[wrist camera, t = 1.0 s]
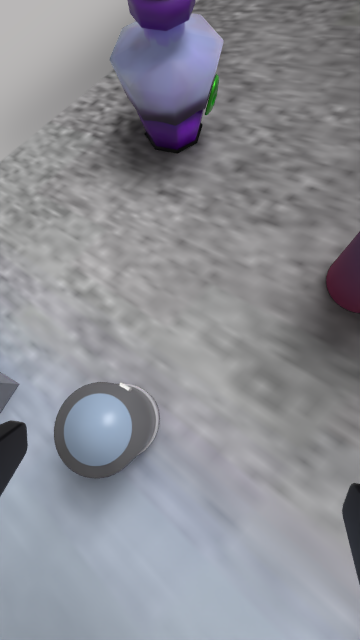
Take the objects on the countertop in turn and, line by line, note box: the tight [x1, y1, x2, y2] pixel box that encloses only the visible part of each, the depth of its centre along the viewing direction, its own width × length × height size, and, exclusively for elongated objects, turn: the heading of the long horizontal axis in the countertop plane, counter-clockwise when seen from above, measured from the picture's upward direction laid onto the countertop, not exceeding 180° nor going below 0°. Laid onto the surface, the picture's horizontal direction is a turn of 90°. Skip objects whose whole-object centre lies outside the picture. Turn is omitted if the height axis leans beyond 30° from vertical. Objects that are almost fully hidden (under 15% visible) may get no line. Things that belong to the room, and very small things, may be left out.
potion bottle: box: [110, 0, 224, 153], centre depth 23 cm, size 9×9×12 cm
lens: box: [54, 382, 160, 478], centre depth 19 cm, size 5×5×7 cm
